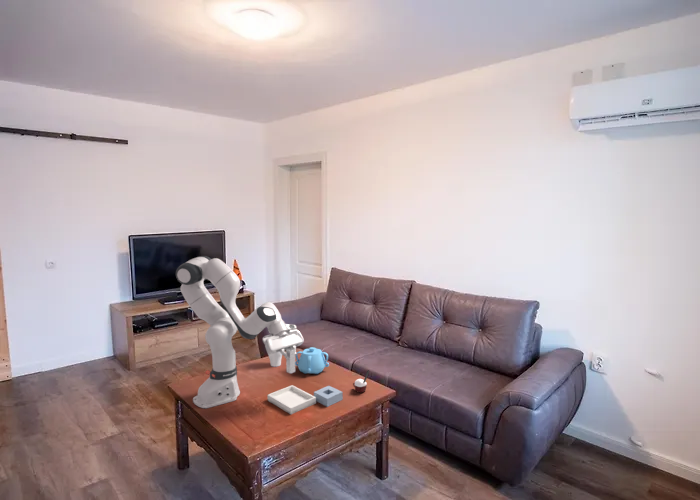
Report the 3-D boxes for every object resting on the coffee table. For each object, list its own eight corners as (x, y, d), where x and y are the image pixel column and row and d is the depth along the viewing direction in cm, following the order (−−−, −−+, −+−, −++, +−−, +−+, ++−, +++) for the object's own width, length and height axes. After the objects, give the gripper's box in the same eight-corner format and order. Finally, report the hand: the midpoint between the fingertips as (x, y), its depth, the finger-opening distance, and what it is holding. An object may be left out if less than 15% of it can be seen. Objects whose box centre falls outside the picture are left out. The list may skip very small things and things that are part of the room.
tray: (290, 414, 185) (290, 408, 185) (267, 400, 198) (267, 394, 198) (316, 403, 195) (316, 397, 195) (292, 390, 209) (292, 385, 208)
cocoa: (351, 390, 210) (350, 367, 209) (361, 386, 213) (360, 364, 212) (361, 396, 202) (360, 373, 201) (371, 392, 205) (370, 370, 204)
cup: (276, 369, 235) (275, 347, 234) (263, 365, 241) (262, 343, 240) (288, 363, 244) (287, 342, 243) (275, 360, 250) (274, 339, 248)
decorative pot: (318, 363, 245) (317, 341, 244) (331, 372, 232) (331, 349, 230) (293, 369, 237) (292, 346, 235) (305, 378, 223) (305, 354, 222)
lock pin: (290, 373, 193) (289, 351, 192) (286, 371, 195) (286, 349, 194) (295, 371, 195) (295, 349, 194) (291, 369, 197) (291, 348, 196)
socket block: (327, 406, 192) (327, 398, 191) (313, 399, 199) (313, 392, 198) (342, 399, 199) (342, 391, 198) (329, 393, 206) (328, 385, 205)
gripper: (263, 333, 191) (275, 358, 185) (298, 324, 205) (310, 347, 199) (258, 340, 194) (270, 365, 188) (293, 331, 209) (305, 354, 203)
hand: (291, 356), depth 194 cm, fingers closed on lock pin, 3 cm apart
